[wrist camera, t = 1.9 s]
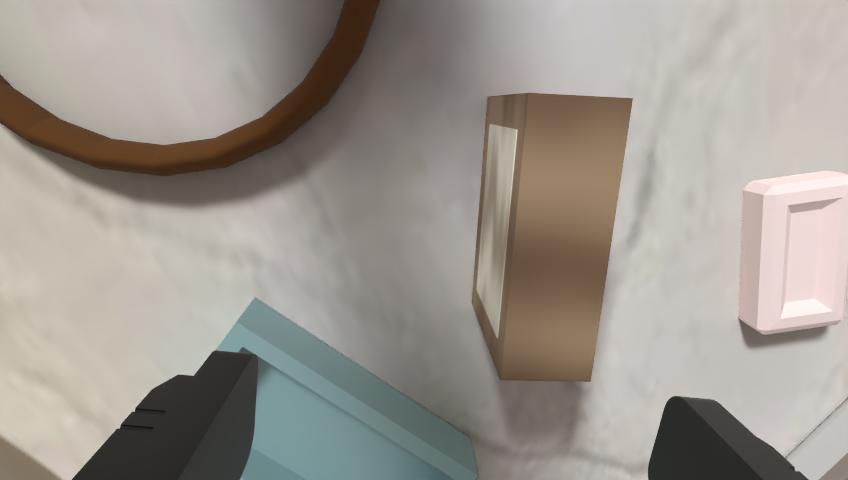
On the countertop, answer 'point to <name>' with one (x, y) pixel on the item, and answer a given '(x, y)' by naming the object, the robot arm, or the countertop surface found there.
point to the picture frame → (546, 230)
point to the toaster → (825, 449)
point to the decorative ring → (210, 153)
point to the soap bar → (794, 252)
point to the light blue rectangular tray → (336, 414)
